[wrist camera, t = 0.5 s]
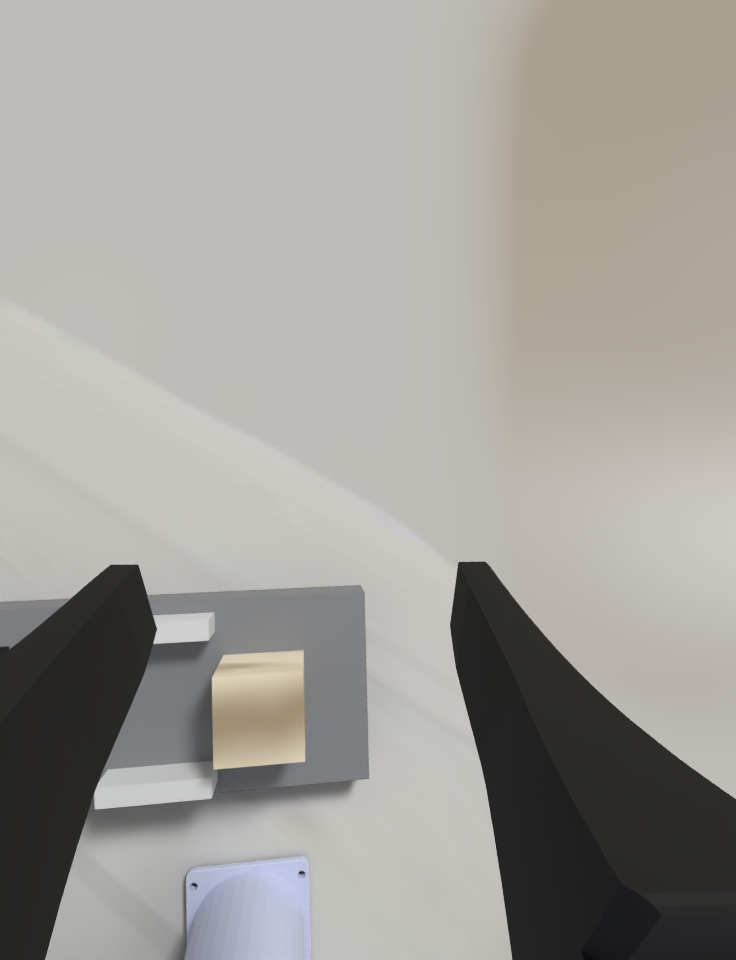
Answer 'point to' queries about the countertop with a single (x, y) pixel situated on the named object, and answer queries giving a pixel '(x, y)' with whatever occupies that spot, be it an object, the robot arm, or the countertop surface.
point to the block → (258, 709)
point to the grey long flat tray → (188, 690)
